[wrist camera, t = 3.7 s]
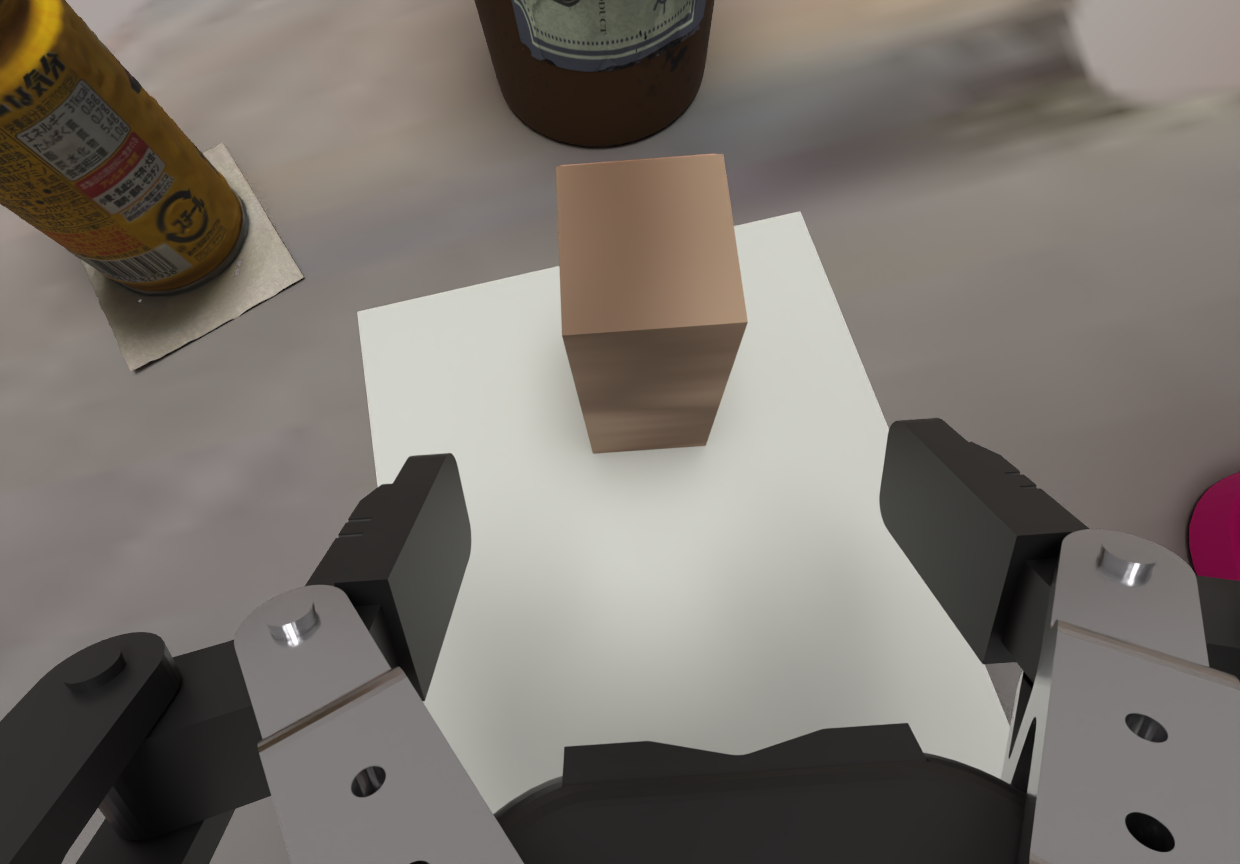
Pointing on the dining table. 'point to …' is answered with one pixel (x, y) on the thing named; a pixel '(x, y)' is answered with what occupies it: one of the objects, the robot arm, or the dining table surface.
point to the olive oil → (597, 63)
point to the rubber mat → (668, 539)
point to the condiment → (126, 188)
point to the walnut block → (649, 297)
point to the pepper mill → (1217, 531)
